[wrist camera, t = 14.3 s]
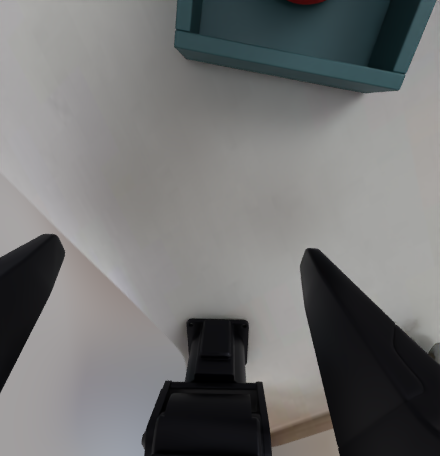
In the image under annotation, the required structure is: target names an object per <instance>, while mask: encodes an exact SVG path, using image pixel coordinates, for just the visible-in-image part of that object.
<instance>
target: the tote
mask: <svg viewBox="0 0 440 456" xmlns="http://www.w3.org/2000/svg"><path fill="white" fill-rule="evenodd" d="M435 2H436V0H325V1H323V2H320V3H316V4H309V5H303V4H296V3H292V2H289V1H287V0H177V13H176V27H175V28H176V31H175V41H174V47H175V48H176V49H177V50H178V51H179V52H180V53H181V54H182V55H183V56H184V57H185V58H186V59H189V60H194V61H199V62H204V63H210V64H215V65H220V66H225V67H231V68H236V69H241V70H246V71H252V72H257V73H262V74H267V75H272V76H278V77H283V78H288V79H293V80H299V81H304V82H309V83H314V84H319V85H325V86H330V87H335V88H340V89H346V90H351V91H356V92H361V93H373V92H386V91H398V90H399V89H400V87H401V85H402V83H403V80H404V78H405V74H406V72H407V70H408V68H409V65H410V63H411V61H412V58H413V56H414V53H415V51H416V48H417V46H418V44H419V41H420V39H421V36H422V34H423V32H424V29H425V27H426V24H427V22H428V19H429V17H430V15H431V12H432V10H433V7H434V5H435Z"/></svg>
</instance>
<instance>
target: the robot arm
mask: <svg viewBox="0 0 440 456" xmlns="http://www.w3.org/2000/svg"><path fill="white" fill-rule="evenodd" d="M64 257H65V250H64V248H63V246H62V244H61V242H60V240H59V238H58V236H57V235H55V234H43V235H40V236H39V237H37V238H35V239H33V240H31V241H30V242H28V243H26V244H24V245H22V246H20V247H19V248H17V249H15V250H13V251H11V252H9V253H8V254H6V255H4V256H2V257H0V392H1V390H2V388H3V387H4V384H5V383H6V380H7V379H8V377H9V375H10V373H11V371H12V369H13V367H14V365H15V363H16V361H17V359H18V357H19V355H20V353H21V351H22V349H23V347H24V345H25V343H26V341H27V339H28V337H29V335H30V333H31V331H32V329H33V327H34V326H35V324H36V321H37V320H38V318H39V316H40V314H41V312H42V310H43V308H44V306H45V304H46V302H47V300H48V298H49V296H50V293H51V291H52V289H53V286H54V283H55V281H56V278H57V276H58V273H59V270H60V268H61V265H62V262H63V260H64ZM300 272H301V281H302V290H303V298H304V306H305V311H306V316H307V320H308V324H309V328H310V332H311V337H312V341H313V345H314V349H315V353H316V357H317V362H318V366H319V370H320V374H321V378H322V383H323V387H324V391H325V395H326V399H327V403H328V408H329V412H330V416H331V420H332V424H333V429H334V432H335V437H336V441H337V445H338V447H339V448H338V450H339V454H340V456H440V364H439V363H438V362H437V361H435V360H434V359H433V358H432V357H431V356H430V355H429V354H427V353H426V352H425V351H424V350H423V349H422V348H421V347H420V346H419V345H417V344H416V343H415V342H414V341H413V340H412V339H411V338H410V337H409V336H408V335H407V334H406V333H405V332H404V331H403V330H402V329H401V328H400V327H399V326H397V325H395V323H394V322H393V321H392V320H391V319H390V318H389V317H388V316H387V315H386V314H385V313H384V312H383V311H382V310H381V309H380V308H379V307H378V306H377V305H376V304H375V303H374V302H373V301H372V300H371V299H370V298H369V297H368V296H367V295H365V294H364V293H363V292H362V291H361V290H360V289H359V288H358V287H357V286H356V285H355V284H354V283H353V282H352V281H351V280H350V279H349V278H348V277H347V276H346V275H345V274H344V273H343V272H342V271H341V270H340V269H339V268H338V267H337V266H336V265H335V264H334V263H333V262H331V261H330V260H329V259H328V258H327V257H326V256H325V255H324V254H323V253H322V252H321V251H320V250H319V249H315V248H307V249H306V250H305V253H304V255H303V258H302V261H301V264H300ZM190 323H192V324H190ZM248 332H249V323H248V321H246V320H225V319H189V320H188V321H187V337H188V349H189V361H188V367H187V372H186V378H185V382H172V381H165V383H164V386H163V388H162V389H161V391H160V394H159V397H158V399H157V402H156V404H155V407H154V409H153V412H152V415H151V417H150V420H149V422H148V425H147V428H146V431H145V433H144V434H143V437H142V445H143V447H144V449H145V455H144V456H272V451H271V437H270V428H269V420H268V414H267V408H266V402H265V395H264V389H263V383H262V382H256V383H246V373H245V365H246V364H247V351H248Z"/></svg>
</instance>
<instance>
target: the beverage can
mask: <svg viewBox="0 0 440 456" xmlns="http://www.w3.org/2000/svg"><path fill="white" fill-rule="evenodd" d="M287 1H289V2H292V3H296V4H303V5H309V4H316V3H320V2H323V1H325V0H287Z"/></svg>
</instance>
